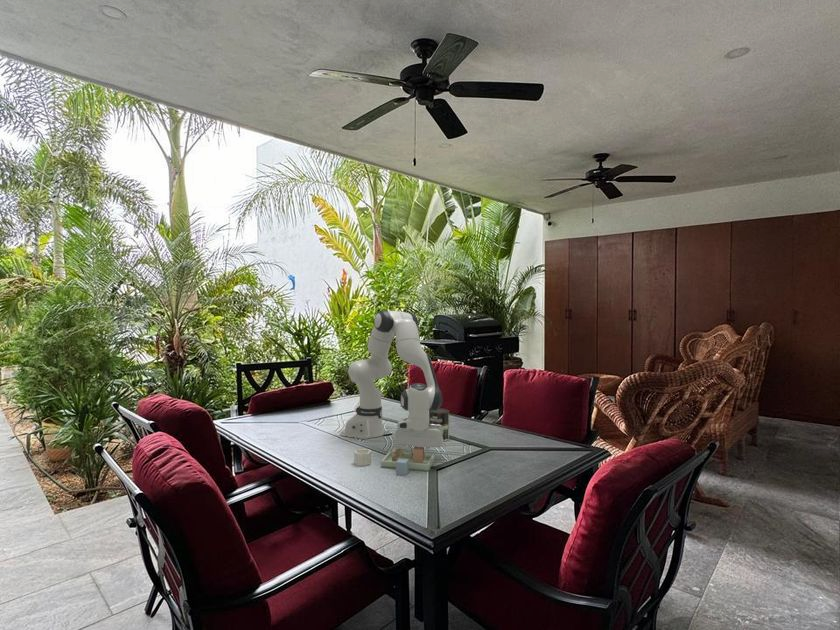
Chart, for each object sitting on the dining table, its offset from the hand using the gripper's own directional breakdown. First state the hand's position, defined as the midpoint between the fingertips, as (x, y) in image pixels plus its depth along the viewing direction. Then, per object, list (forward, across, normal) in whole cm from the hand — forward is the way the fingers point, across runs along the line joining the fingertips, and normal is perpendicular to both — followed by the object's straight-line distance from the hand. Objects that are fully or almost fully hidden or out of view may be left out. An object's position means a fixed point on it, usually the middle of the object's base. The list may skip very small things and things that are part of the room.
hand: (418, 456), depth 182 cm
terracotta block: (+2, 0, 0) cm, 2 cm away
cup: (+4, +24, +3) cm, 24 cm away
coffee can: (+4, -2, -38) cm, 38 cm away
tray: (+4, +4, 0) cm, 6 cm away
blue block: (+4, +4, +10) cm, 12 cm away
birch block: (+3, +9, 0) cm, 10 cm away
